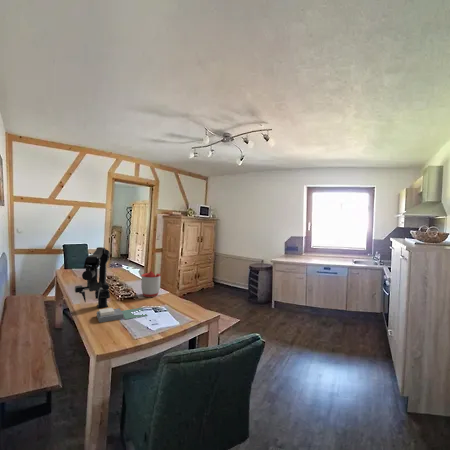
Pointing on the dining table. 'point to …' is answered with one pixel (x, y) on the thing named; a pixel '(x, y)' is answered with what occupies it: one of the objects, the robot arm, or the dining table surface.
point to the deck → (110, 316)
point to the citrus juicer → (150, 284)
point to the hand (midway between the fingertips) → (91, 301)
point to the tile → (106, 311)
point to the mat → (129, 315)
